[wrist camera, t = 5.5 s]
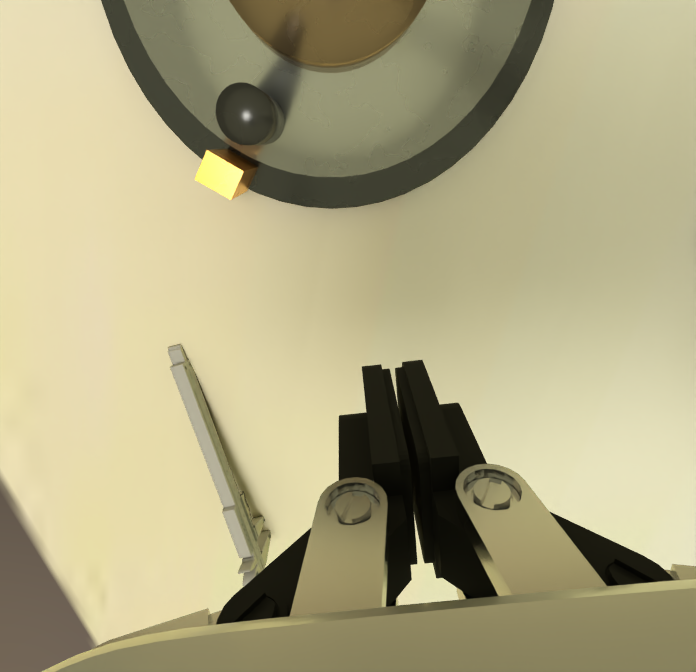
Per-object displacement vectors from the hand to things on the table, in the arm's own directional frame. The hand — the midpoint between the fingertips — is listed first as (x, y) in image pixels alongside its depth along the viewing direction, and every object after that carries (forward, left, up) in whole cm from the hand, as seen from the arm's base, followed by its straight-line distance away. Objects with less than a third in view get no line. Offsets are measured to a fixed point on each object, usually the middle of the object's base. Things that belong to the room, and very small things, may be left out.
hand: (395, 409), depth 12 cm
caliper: (+11, +17, -20) cm, 28 cm away
